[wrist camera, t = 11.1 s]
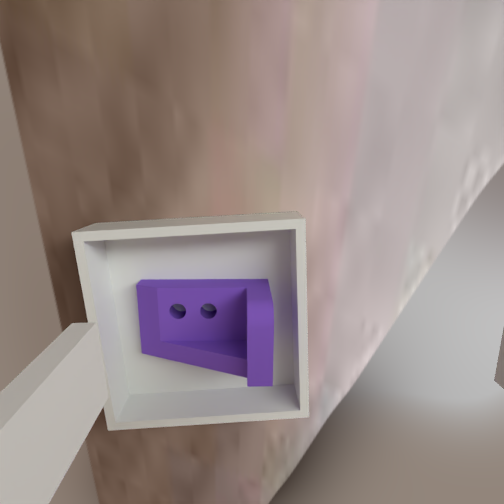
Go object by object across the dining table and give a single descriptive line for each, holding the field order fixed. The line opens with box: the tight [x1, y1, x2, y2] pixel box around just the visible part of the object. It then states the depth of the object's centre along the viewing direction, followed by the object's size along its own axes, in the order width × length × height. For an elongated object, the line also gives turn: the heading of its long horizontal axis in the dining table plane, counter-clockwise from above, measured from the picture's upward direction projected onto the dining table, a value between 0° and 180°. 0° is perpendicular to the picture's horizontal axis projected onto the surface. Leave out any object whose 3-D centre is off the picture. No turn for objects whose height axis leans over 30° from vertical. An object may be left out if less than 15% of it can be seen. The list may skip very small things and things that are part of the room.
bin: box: [71, 211, 309, 431], centre depth 32 cm, size 19×19×5 cm
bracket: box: [136, 279, 274, 387], centre depth 30 cm, size 12×7×7 cm, turn 90°
